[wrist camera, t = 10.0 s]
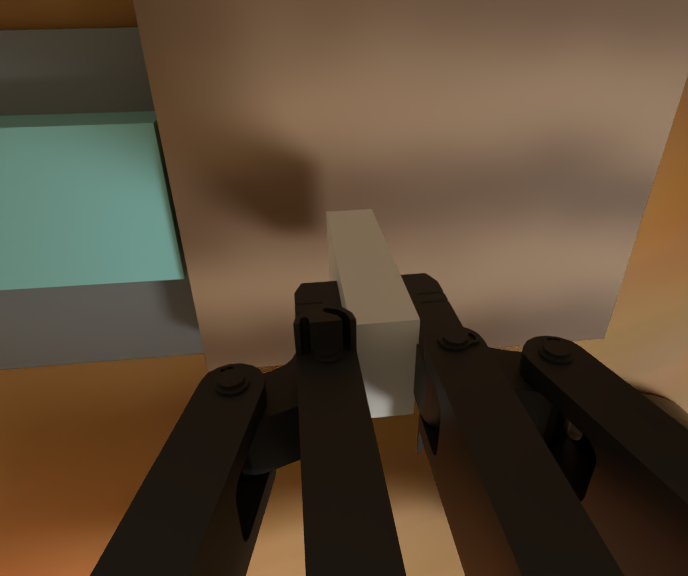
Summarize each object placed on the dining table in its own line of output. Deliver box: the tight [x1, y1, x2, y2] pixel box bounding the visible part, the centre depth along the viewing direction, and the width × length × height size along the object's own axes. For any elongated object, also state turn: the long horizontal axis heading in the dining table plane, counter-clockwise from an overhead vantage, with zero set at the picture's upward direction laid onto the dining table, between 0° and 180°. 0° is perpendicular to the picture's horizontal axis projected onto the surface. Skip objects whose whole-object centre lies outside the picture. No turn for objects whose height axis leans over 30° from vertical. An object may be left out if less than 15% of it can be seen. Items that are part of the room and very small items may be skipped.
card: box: [0, 111, 187, 290], centre depth 18 cm, size 6×10×2 cm, turn 91°
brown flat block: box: [133, 0, 688, 371], centre depth 20 cm, size 14×18×3 cm
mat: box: [0, 27, 204, 370], centre depth 20 cm, size 14×14×1 cm
